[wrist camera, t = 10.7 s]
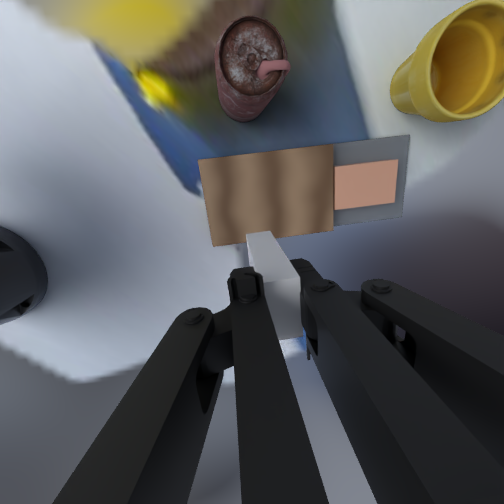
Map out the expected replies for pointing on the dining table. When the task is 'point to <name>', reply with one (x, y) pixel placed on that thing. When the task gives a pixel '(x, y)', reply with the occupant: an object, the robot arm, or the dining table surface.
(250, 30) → the can
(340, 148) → the mat
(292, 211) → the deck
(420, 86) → the plant pot
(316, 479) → the robot arm
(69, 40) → the dining table surface
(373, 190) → the tile
